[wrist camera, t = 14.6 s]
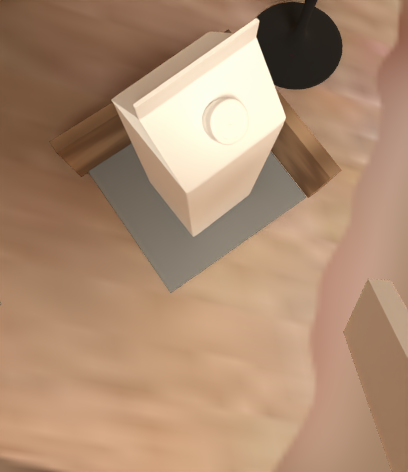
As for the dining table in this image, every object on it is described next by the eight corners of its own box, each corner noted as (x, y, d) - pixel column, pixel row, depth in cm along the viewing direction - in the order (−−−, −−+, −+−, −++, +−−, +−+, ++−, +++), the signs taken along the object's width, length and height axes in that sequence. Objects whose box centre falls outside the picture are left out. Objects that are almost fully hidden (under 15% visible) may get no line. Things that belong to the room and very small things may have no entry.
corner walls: (75, 167, 35) (49, 141, 29) (224, 72, 37) (228, 29, 31) (164, 299, 33) (156, 301, 27) (317, 191, 34) (341, 170, 29)
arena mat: (88, 172, 35) (87, 171, 34) (219, 87, 36) (220, 86, 36) (170, 292, 33) (170, 293, 32) (305, 198, 34) (306, 197, 34)
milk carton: (149, 182, 34) (87, 49, 15) (205, 141, 35) (211, -34, 16) (193, 238, 33) (183, 167, 15) (250, 194, 34) (309, 74, 15)
